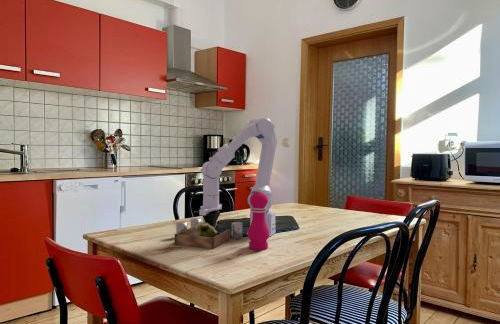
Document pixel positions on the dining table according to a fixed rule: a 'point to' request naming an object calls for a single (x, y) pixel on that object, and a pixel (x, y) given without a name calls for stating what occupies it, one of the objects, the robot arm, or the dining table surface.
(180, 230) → the tin right far
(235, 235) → the tin left
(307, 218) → the dining table surface
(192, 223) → the tin right near
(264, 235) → the pepper mill
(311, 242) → the dining table surface
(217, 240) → the tray
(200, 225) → the pale green lumpy ball
